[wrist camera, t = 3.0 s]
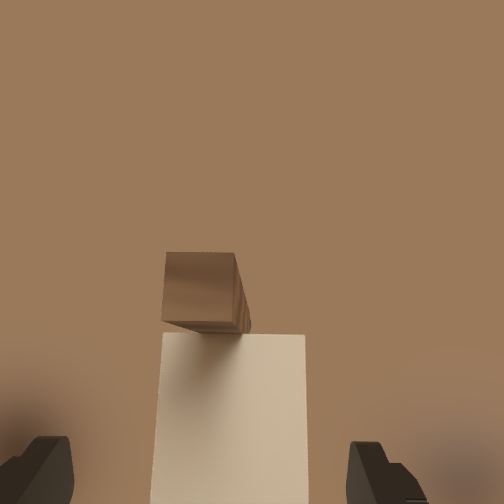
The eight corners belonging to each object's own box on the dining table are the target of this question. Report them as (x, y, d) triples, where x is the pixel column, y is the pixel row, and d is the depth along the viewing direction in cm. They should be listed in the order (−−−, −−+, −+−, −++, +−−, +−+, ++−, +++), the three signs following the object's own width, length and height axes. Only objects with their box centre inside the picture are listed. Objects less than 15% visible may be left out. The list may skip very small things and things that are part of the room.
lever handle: (236, 321, 15) (238, 244, 16) (156, 320, 15) (162, 243, 16) (250, 340, 40) (251, 309, 41) (220, 340, 40) (221, 309, 41)
